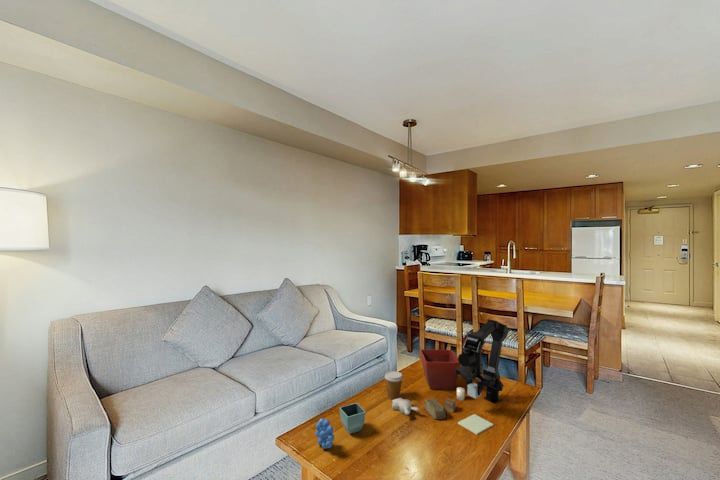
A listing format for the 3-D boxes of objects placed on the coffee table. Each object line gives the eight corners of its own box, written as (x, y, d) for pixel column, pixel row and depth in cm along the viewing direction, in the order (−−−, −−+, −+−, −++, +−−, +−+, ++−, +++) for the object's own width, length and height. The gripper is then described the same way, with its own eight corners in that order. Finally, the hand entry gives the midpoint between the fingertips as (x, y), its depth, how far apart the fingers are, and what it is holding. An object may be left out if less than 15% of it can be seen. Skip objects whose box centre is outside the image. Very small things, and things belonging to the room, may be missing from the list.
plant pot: (461, 393, 176) (461, 362, 176) (425, 392, 176) (425, 361, 176) (451, 377, 195) (451, 349, 195) (419, 377, 196) (419, 349, 195)
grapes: (342, 451, 128) (342, 420, 128) (328, 458, 124) (328, 427, 123) (325, 437, 137) (325, 408, 137) (311, 443, 132) (311, 414, 132)
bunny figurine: (402, 393, 167) (421, 403, 154) (403, 404, 166) (422, 415, 153) (387, 398, 162) (405, 408, 149) (387, 408, 162) (405, 420, 149)
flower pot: (347, 438, 136) (347, 417, 136) (338, 427, 144) (339, 407, 144) (365, 432, 140) (366, 411, 140) (356, 422, 148) (356, 402, 148)
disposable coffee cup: (403, 401, 166) (403, 378, 166) (384, 401, 167) (385, 378, 167) (401, 392, 176) (401, 370, 176) (383, 392, 176) (384, 370, 176)
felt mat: (474, 415, 154) (474, 414, 154) (493, 425, 146) (493, 424, 146) (457, 423, 147) (457, 422, 147) (476, 434, 139) (476, 433, 139)
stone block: (435, 421, 149) (435, 410, 149) (423, 408, 160) (423, 398, 160) (446, 419, 151) (446, 408, 151) (433, 406, 162) (433, 396, 162)
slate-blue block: (473, 392, 160) (473, 382, 160) (481, 396, 157) (481, 385, 157) (467, 394, 158) (467, 384, 158) (475, 398, 154) (475, 388, 154)
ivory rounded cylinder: (459, 395, 173) (459, 386, 173) (466, 399, 170) (466, 389, 170) (454, 398, 171) (455, 388, 171) (461, 401, 167) (461, 391, 167)
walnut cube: (447, 406, 162) (447, 398, 162) (455, 409, 160) (455, 400, 160) (444, 410, 159) (444, 401, 159) (452, 412, 157) (453, 404, 157)
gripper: (448, 358, 160) (448, 390, 160) (481, 371, 145) (481, 406, 145) (462, 353, 167) (462, 384, 167) (496, 365, 151) (495, 399, 151)
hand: (474, 393), depth 157 cm, fingers closed on slate-blue block, 4 cm apart
